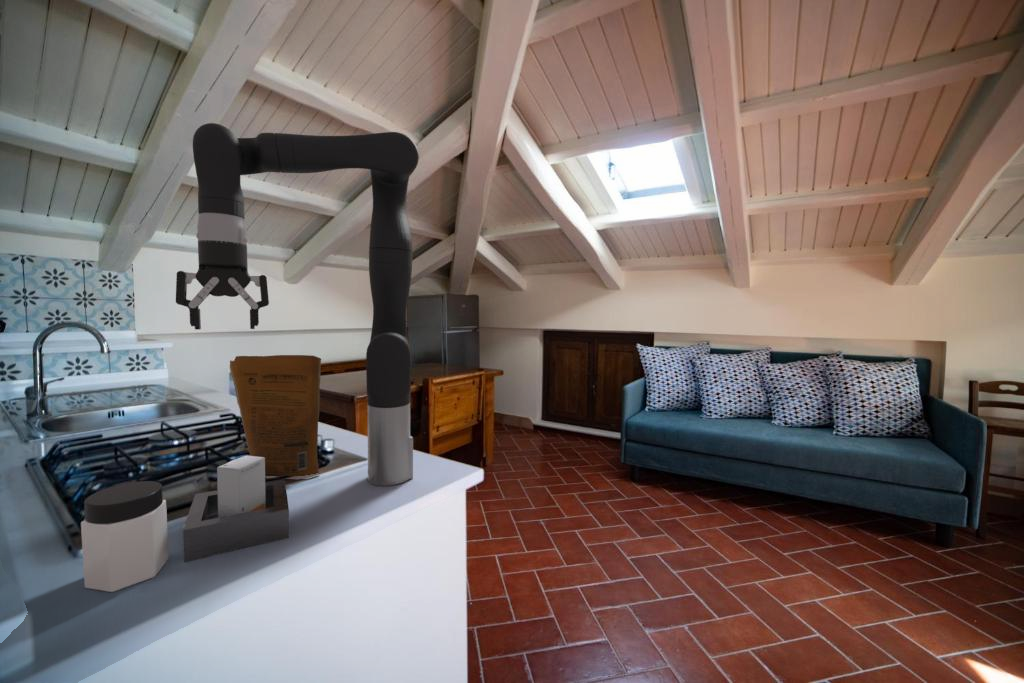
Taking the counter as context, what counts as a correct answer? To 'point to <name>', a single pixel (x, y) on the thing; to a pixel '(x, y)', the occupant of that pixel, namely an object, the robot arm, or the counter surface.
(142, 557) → the jar
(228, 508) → the skincare box
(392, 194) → the robot arm
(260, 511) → the socket block
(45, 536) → the counter surface
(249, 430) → the pancake mix bag
